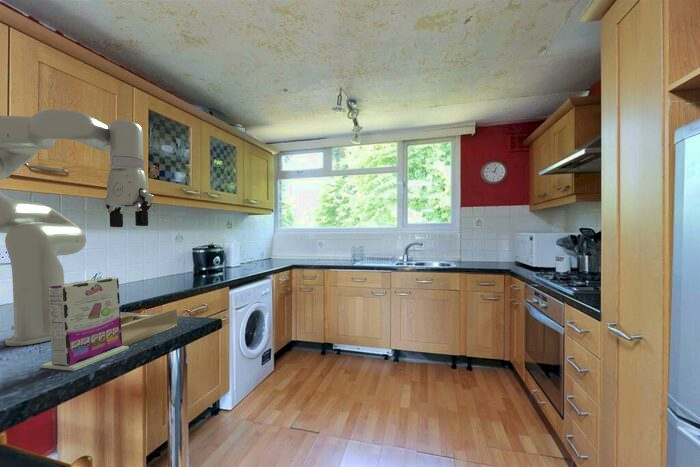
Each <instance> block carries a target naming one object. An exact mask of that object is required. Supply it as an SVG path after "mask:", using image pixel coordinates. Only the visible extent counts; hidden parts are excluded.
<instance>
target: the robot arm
mask: <svg viewBox="0 0 700 467" xmlns="http://www.w3.org/2000/svg"><path fill="white" fill-rule="evenodd" d="M57 140H66V141H67V140H69V141H74V142H76V143H80V144H83V145H86V146H88V147H91V148H93V149H95V150H98V151H102V152H109V154H110V155H109V159H110V160H109V162H110V164H109V165H110V169H109V172H108V175H107V182H106V183H107V184H106V197H105V198H104V203H105V208H106V209H107V212H108V214H109V227H110V228H123V227H124V214H123V213H122V211H123V210H124V208H126V207H127V208H128V207H134V208H135V209H136V211H135V214H134V215H135V218H134V219H135V226H136V227H148V226H149V212H151V211H150V210H151V209H150V208H151V207H152V204H153V200H154V198H155V197H154V195H153V194H152V193H151V192H148V185H147V183H148V182H147V177H146V173H145V161H144V159H145V158H144V152H145V151H144V130H143V128H142V126H141V125H140V124H139V123H137V122H134V121H131V120H125V119H115V120H112V121H110V123H109V124H107V123H104V122H102V121H100V120H99V119H96V118H95V117H93V116H90V115H88V114H87V113H84V112H80V111H76V110H75V111H74V110H66V109H65V110H64V109H44V110H40V111H39V112H36V113H34V114H32V116H25V115H23V116H21V115H0V181H2V180H5V179H7V178H9V177H10V176H11V175H13V174H14V173H16V171H18V170H19V169H20V168H22V166H24V165H25V164H26V163H28V162H29V161H30V160H31V159H33V158H34V157H35V156H36V155H37V154H38V153H39V151H40V150H49V149H52V148H53V146H55V144H56V142H57ZM0 233H1V234H6V235H5V239H4V241H5V242H4V243H5V244H4V245H5V248H6V252H7V254H8V257H9V260H10V265H11V267H10V268H11V273H12V274H11V275H12V276H11V278H12V279H11V280H12V301H13V302H12V304H13V325H12V326H11V327H10V330H11V331H13V333H14V335H12V336H10V337H8V338H6V340H5V345H6V346H9V347H19V346H20V347H22V346H28V345H29V346H30V345H35V344H39V343H44V342H49V341H50V342H51V334H50V316H49V299H48V287H50V286H56V285H62V284H65V271H64V268H63V265H62V263H61V261H60V259H59V258H58V256H60V257H61V256H68V255H74V254H77V253H78V252H81V251H82V250H83V249H84V247H85V246H86V243H87V237H86V234H85V233H84V231H83V229H82V228H80V227H79V225H77V224H76V223H74V222H73V221H71V220H70V219H68V218H67V217H65V216H64V215H63V214H62V213H60V212H59V211H58V210H55V209H54V208H53V207H51V206H50V205H47V204H43V203H41V202H37V201H29V200H22V199H16V198H12V197H10V196H8V195H6V194H4V193H3V192H1V191H0Z"/></svg>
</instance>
